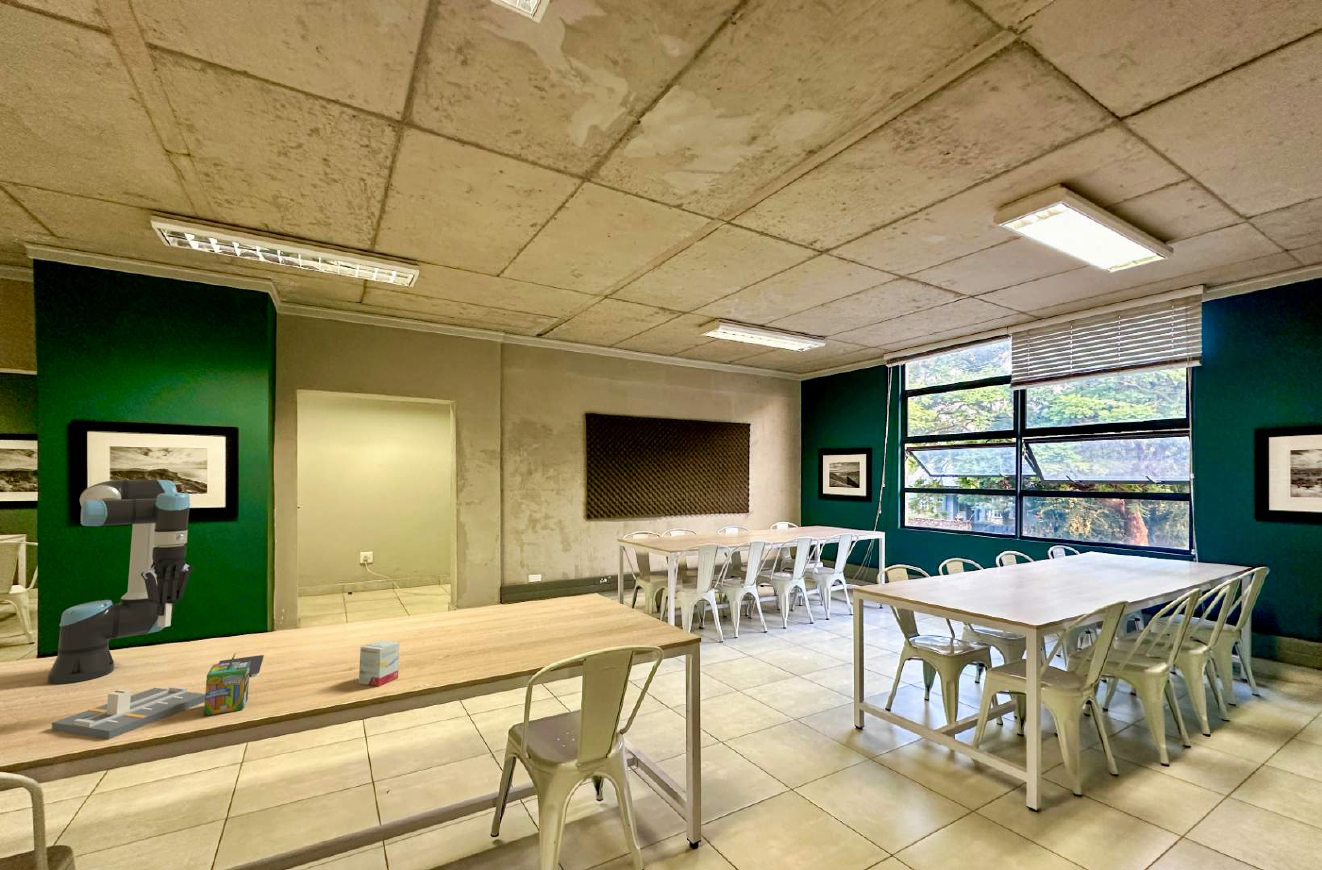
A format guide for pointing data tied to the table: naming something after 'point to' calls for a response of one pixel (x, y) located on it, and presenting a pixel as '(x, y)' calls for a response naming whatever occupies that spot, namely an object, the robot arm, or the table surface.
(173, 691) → the console
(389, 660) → the ink box
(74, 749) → the table surface
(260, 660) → the notebook
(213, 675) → the chalk box
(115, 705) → the fader tab
